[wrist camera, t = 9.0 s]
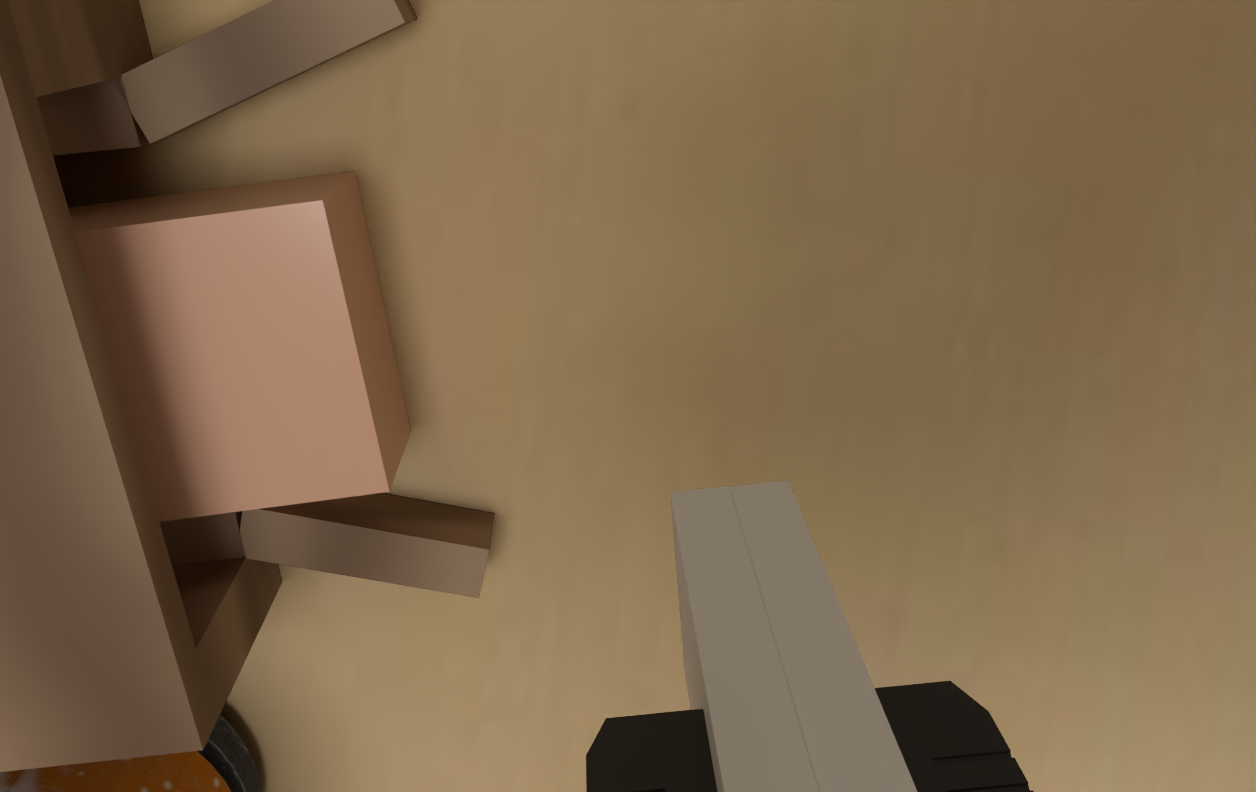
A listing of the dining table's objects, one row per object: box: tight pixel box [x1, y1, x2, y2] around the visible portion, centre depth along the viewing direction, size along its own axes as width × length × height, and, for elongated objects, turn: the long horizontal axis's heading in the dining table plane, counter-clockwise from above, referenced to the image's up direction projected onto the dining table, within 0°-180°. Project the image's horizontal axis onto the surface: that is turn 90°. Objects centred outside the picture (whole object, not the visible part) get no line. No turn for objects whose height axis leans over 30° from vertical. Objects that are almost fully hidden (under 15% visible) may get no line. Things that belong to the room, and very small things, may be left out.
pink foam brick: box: [68, 171, 411, 522], centre depth 26 cm, size 14×7×4 cm, turn 97°
